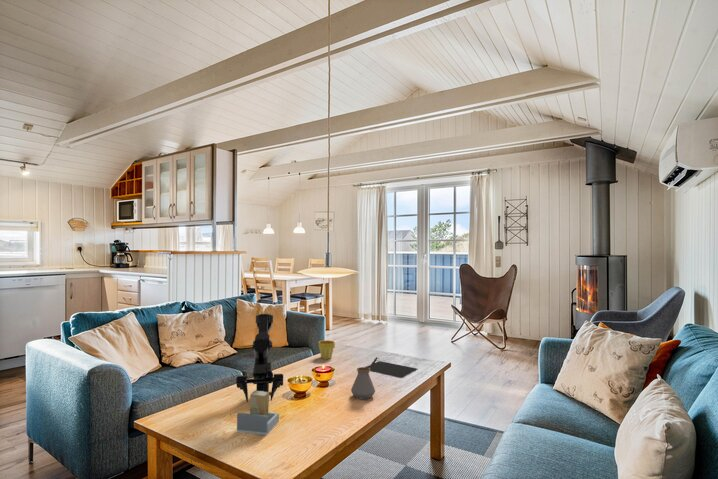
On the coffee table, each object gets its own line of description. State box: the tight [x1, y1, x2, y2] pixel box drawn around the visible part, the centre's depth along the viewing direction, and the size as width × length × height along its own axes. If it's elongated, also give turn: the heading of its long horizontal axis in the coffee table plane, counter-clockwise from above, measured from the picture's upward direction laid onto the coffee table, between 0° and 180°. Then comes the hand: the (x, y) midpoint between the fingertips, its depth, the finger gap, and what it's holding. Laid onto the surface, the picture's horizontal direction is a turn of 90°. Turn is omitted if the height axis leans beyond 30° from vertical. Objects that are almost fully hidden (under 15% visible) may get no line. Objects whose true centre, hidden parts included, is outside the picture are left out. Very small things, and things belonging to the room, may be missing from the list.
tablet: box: [365, 360, 419, 379], centre depth 233 cm, size 27×1×20 cm
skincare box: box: [249, 389, 270, 416], centre depth 157 cm, size 6×4×12 cm
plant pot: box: [318, 339, 336, 360], centre depth 255 cm, size 10×10×10 cm
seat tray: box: [236, 411, 280, 436], centre depth 157 cm, size 12×12×7 cm
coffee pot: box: [350, 357, 380, 400], centre depth 195 cm, size 21×12×15 cm, turn 152°
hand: (259, 401), depth 159 cm, fingers open, 9 cm apart
